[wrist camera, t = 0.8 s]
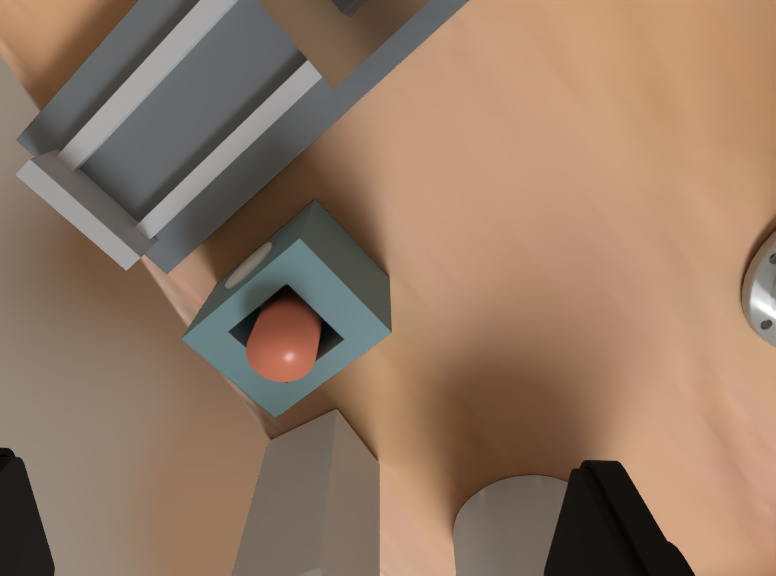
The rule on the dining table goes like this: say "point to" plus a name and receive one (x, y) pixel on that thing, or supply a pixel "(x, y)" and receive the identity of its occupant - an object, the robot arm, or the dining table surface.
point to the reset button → (284, 337)
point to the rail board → (189, 121)
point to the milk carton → (314, 505)
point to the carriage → (340, 30)
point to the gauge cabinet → (311, 282)
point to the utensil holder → (508, 527)
